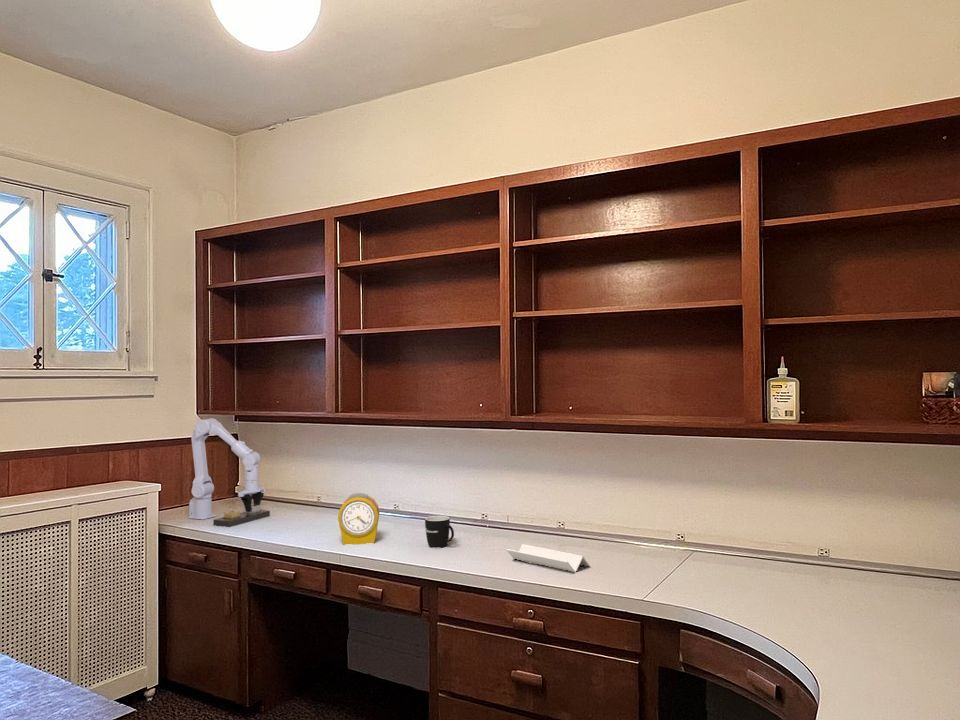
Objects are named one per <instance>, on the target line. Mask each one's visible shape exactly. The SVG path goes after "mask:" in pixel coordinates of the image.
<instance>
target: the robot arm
mask: <svg viewBox="0 0 960 720" xmlns="http://www.w3.org/2000/svg"><path fill="white" fill-rule="evenodd" d="M193 428H194V430H193V432H192V434H191V448H192V450H191V451H192V457H193V466H194V467H193V468H194V474H195V475H194V476H195V477H194V478H193V481H192V486H191V487H192V488H191V489H190V490H191V491H190V492H191V495H192V496H193V497H192V498H191V499H190V500H189V504H188V507H189V509H188V510H189V511H188V513H189V515H188V517H187V518H188V519H196V520H206V519H207V520H208V519H210V518H214V517H217V515H216V514H213V505H212V504H213V502H212V501H213V500H212V499H213V498H212V496H213V495H212V494H213V493H214V492H215V485H214V483H213V481H212V477H211V476H210V475H209V469H208V460H207V451H206V442H205V441H206V439H207V438H209V436H210V435H211V436H213V435H214V436H218V437H219V438H221V439H222V440H223V441H224V442H225V443H226V444H228V446H230V448H231V452H232V453H234V454H235V455H236V456H237V457H239V459H240V460H241V463H242V464H243V466H244V487H245V489H244V490H241V491H239V492H237V496H238V498H240V499H241V501H242V503H243V506H244V510H245V509H246V512H250V511H251V504H252V503H253V504H255V505H260V506H261V502H262V500H263V497H264V495H265V493H266V487H265V486H264V487H263V486H261V487H260V486H259V485H260V483H259V482H260V481H259V464H260V461H261V455H260V454H259V452H258V451H254V450H253V449H252V448H251V449H250V447H248V446H247V445H246V442H245V441H243V440H237V439H236V438H234V437H235V436H232V434H231V433H230V432H229V431H228V430H227V429H226V428H225V427H224V426H223V424H222V423H221V422H220V421H218V420H217V419H216V418H213V417H211V418H206V419H200V420H199V421H197V422H196V423H195V424H194V427H193ZM252 501H253V502H252Z"/></svg>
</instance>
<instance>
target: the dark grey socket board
mask: <svg viewBox="0 0 960 720" xmlns="http://www.w3.org/2000/svg"><path fill="white" fill-rule="evenodd" d="M267 517H271V510H266V509H260V512H259V513H255V514H246V513H245V511H242V512H240V518H236V519H232V520H231V519H224V516H222V517H218V518H215V519H213V521H212V522H213V523H212V524H213V526H215V525H216V526H217V527H224V526H225V527H226V528H231V527H234V526H238V525H241V524H246V523H249V522H253V521H256V520H261V519H264V518H267ZM216 526H215V527H216ZM225 527H224V528H225Z"/></svg>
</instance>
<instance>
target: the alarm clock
mask: <svg viewBox="0 0 960 720" xmlns="http://www.w3.org/2000/svg"><path fill="white" fill-rule="evenodd" d="M379 518H380V508H379V505H378V503H377V502H376V500H375V498H374V497H372V496H369V495H368V494H367V493H361V492H356V493H352V494H350V495H349V497H348V498H346V499H345V501H344V502H343V503H342V505H341V507H340V508H339V510H338V516H337V520H338V525H339V530H340V535H341V540H342V544H343V546H346V545H345V544H353V545H367V544H366V543H374V542H376V538H377V537H376V536H377V529H378V526H379ZM374 544H375V543H374Z"/></svg>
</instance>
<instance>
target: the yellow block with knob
mask: <svg viewBox="0 0 960 720" xmlns="http://www.w3.org/2000/svg"><path fill="white" fill-rule="evenodd" d="M240 513H241V511H239V510H229V511H224V512H223V517H224V519H231V520H232V519H236V518H240Z"/></svg>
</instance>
